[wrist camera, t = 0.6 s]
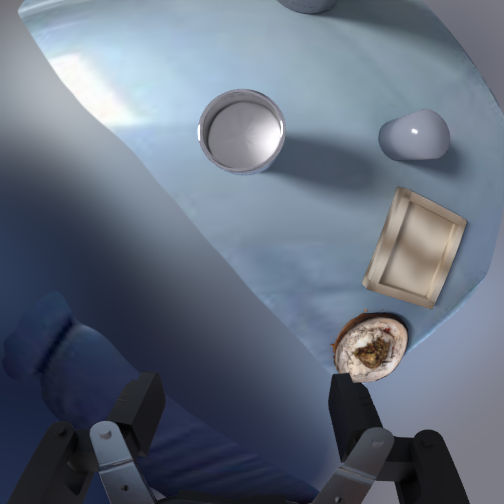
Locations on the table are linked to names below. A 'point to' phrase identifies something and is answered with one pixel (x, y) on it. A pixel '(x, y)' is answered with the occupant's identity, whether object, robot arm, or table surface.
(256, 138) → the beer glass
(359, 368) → the stuffed round slice
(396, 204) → the birch tray
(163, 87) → the table surface
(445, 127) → the grey rounded cylinder
